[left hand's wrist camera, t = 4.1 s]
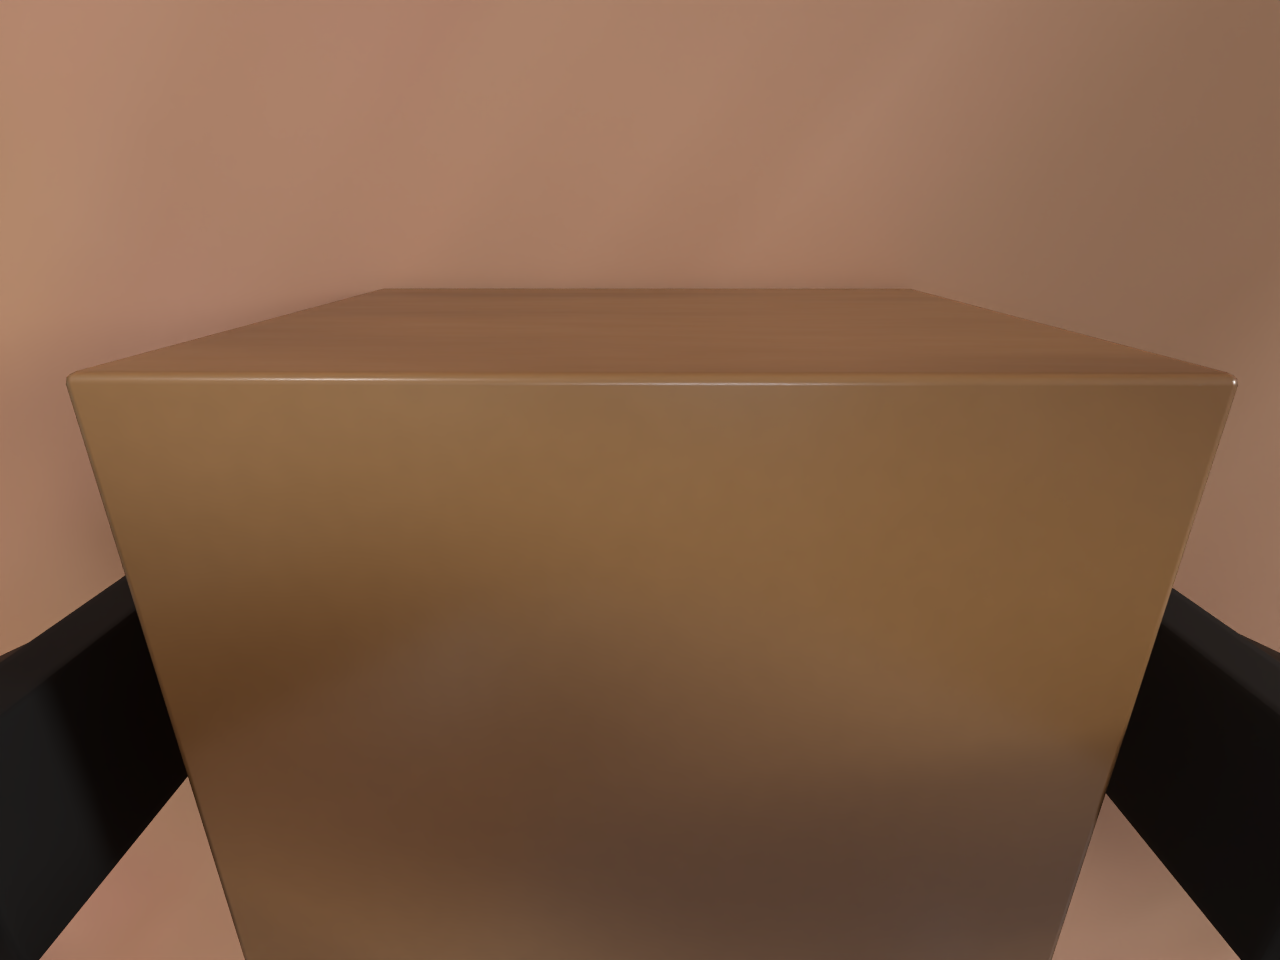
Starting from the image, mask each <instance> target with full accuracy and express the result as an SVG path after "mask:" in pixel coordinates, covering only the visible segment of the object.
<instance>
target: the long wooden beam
mask: <svg viewBox="0 0 1280 960" xmlns="http://www.w3.org/2000/svg"><path fill="white" fill-rule="evenodd" d="M66 386H67V389H68V392H69V395H70V398H71V402H72V405H73V408H74V411H75V415H76V418H77V421H78V424H79V427H80V431H81V434H82V437H83V440H84V443H85V447H86V450H87V453H88V456H89V460H90V463H91V466H92V469H93V472H94V476H95V479H96V482H97V485H98V488H99V492H100V495H101V498H102V501H103V505H104V508H105V511H106V514H107V517H108V521H109V524H110V527H111V530H112V533H113V537H114V540H115V543H116V546H117V550H118V553H119V556H120V559H121V562H122V566H123V569H124V572H125V575H126V578H127V582H128V585H129V588H130V591H131V595H132V598H133V601H134V604H135V607H136V611H137V614H138V617H139V620H140V623H141V627H142V630H143V633H144V636H145V640H146V643H147V646H148V649H149V652H150V656H151V659H152V662H153V665H154V668H155V672H156V675H157V678H158V681H159V685H160V688H161V691H162V694H163V697H164V701H165V704H166V707H167V710H168V713H169V717H170V720H171V723H172V726H173V730H174V733H175V736H176V739H177V742H178V746H179V749H180V752H181V755H182V759H183V762H184V765H185V768H186V771H187V775H188V778H189V781H190V784H191V787H192V791H193V794H194V797H195V800H196V804H197V807H198V810H199V813H200V816H201V820H202V823H203V826H204V829H205V832H206V836H207V839H208V842H209V845H210V849H211V852H212V855H213V858H214V861H215V865H216V868H217V871H218V874H219V877H220V881H221V884H222V887H223V890H224V894H225V897H226V900H227V903H228V906H229V910H230V913H231V916H232V919H233V922H234V926H235V929H236V932H237V935H238V939H239V942H240V945H241V948H242V951H243V955H244V958H245V960H1052V957H1053V954H1054V951H1055V948H1056V945H1057V942H1058V938H1059V935H1060V932H1061V929H1062V926H1063V923H1064V920H1065V917H1066V914H1067V911H1068V908H1069V905H1070V901H1071V898H1072V895H1073V892H1074V889H1075V886H1076V883H1077V880H1078V877H1079V874H1080V871H1081V868H1082V864H1083V861H1084V858H1085V855H1086V852H1087V849H1088V846H1089V843H1090V840H1091V837H1092V834H1093V830H1094V827H1095V824H1096V821H1097V818H1098V815H1099V812H1100V809H1101V806H1102V803H1103V800H1104V797H1105V793H1106V790H1107V787H1108V784H1109V781H1110V778H1111V775H1112V772H1113V769H1114V766H1115V763H1116V760H1117V756H1118V753H1119V750H1120V747H1121V744H1122V741H1123V738H1124V735H1125V732H1126V729H1127V726H1128V723H1129V719H1130V716H1131V713H1132V710H1133V707H1134V704H1135V701H1136V698H1137V695H1138V692H1139V689H1140V685H1141V682H1142V679H1143V676H1144V673H1145V670H1146V667H1147V664H1148V661H1149V658H1150V655H1151V652H1152V648H1153V645H1154V642H1155V639H1156V636H1157V633H1158V630H1159V627H1160V624H1161V621H1162V618H1163V615H1164V611H1165V608H1166V605H1167V602H1168V599H1169V596H1170V593H1171V590H1172V587H1173V584H1174V581H1175V577H1176V574H1177V571H1178V568H1179V565H1180V562H1181V559H1182V556H1183V553H1184V550H1185V547H1186V544H1187V540H1188V537H1189V534H1190V531H1191V528H1192V525H1193V522H1194V519H1195V516H1196V513H1197V510H1198V507H1199V503H1200V500H1201V497H1202V494H1203V491H1204V488H1205V485H1206V482H1207V479H1208V476H1209V473H1210V470H1211V466H1212V463H1213V460H1214V457H1215V454H1216V451H1217V448H1218V445H1219V442H1220V439H1221V436H1222V432H1223V429H1224V426H1225V423H1226V420H1227V417H1228V414H1229V411H1230V408H1231V405H1232V402H1233V399H1234V395H1235V392H1236V389H1237V386H1238V384H1237V378H1236V377H1234V376H1233V375H1231V374H1229V373H1227V372H1223V371H1219V370H1215V369H1212V368H1208V367H1204V366H1200V365H1196V364H1193V363H1189V362H1185V361H1181V360H1177V359H1174V358H1170V357H1166V356H1162V355H1158V354H1155V353H1151V352H1147V351H1143V350H1140V349H1136V348H1132V347H1128V346H1124V345H1121V344H1117V343H1113V342H1109V341H1105V340H1102V339H1098V338H1094V337H1090V336H1086V335H1083V334H1079V333H1075V332H1071V331H1067V330H1064V329H1060V328H1056V327H1052V326H1049V325H1045V324H1041V323H1037V322H1033V321H1030V320H1026V319H1022V318H1018V317H1014V316H1011V315H1007V314H1003V313H999V312H995V311H992V310H988V309H984V308H980V307H977V306H973V305H969V304H965V303H961V302H958V301H954V300H950V299H946V298H942V297H939V296H935V295H931V294H927V293H923V292H920V291H916V290H912V289H381V290H377V291H373V292H370V293H366V294H362V295H359V296H355V297H351V298H347V299H344V300H340V301H336V302H333V303H329V304H325V305H321V306H318V307H314V308H310V309H306V310H303V311H299V312H295V313H292V314H288V315H284V316H280V317H277V318H273V319H269V320H265V321H262V322H258V323H254V324H251V325H247V326H243V327H239V328H236V329H232V330H228V331H224V332H221V333H217V334H213V335H210V336H206V337H202V338H198V339H195V340H191V341H187V342H184V343H180V344H176V345H172V346H169V347H165V348H161V349H157V350H154V351H150V352H146V353H143V354H139V355H135V356H131V357H128V358H124V359H120V360H116V361H113V362H109V363H105V364H102V365H98V366H94V367H90V368H87V369H83V370H79V371H76V372H74V373H72V374H70V375H69V376H68V377H67V379H66Z"/></svg>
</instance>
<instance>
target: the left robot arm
mask: <svg viewBox="0 0 1280 960" xmlns="http://www.w3.org/2000/svg"><path fill="white" fill-rule="evenodd" d="M187 777H188V775H187V771H186V768H185V765H184V762H183V759H182V755H181V752H180V749H179V746H178V742H177V739H176V736H175V733H174V730H173V726H172V723H171V720H170V717H169V713H168V710H167V707H166V704H165V701H164V697H163V694H162V691H161V688H160V685H159V681H158V678H157V675H156V672H155V668H154V665H153V662H152V659H151V656H150V652H149V649H148V646H147V643H146V640H145V636H144V633H143V630H142V627H141V623H140V620H139V617H138V614H137V611H136V607H135V604H134V601H133V598H132V595H131V591H130V588H129V585H128V582H127V578H126V575H125V576H124V577H122V578H121V579H120V580H118V581H117V582H115V583H114V584H112V585H111V586H110V587H108V588H107V589H105V590H104V591H102V592H101V593H99V594H98V595H97V596H95V597H94V598H92V599H91V600H89V601H88V602H87V603H85V604H84V605H82V606H81V607H79V608H78V609H76V610H75V611H74V612H72V613H71V614H69V615H68V616H66V617H65V618H64V619H62V620H61V621H59V622H58V623H56V624H55V625H53V626H52V627H51V628H49V629H48V630H46V631H45V632H43V633H42V634H40V635H39V636H38V637H36V638H35V639H33V640H32V641H30V642H29V643H27V644H25V645H23V646H21V647H18V648H16V649H14V650H12V651H10V652H8V653H6V654H4V655H1V656H0V960H39V959H40V958H41V957H42V956H43V954H44V953H45V952H46V951H47V949H48V948H49V947H50V946H51V944H52V943H53V942H54V941H55V940H56V938H57V937H58V936H59V935H60V933H61V932H62V931H63V930H64V928H65V927H66V926H67V925H68V923H69V922H70V921H71V920H72V919H73V917H74V916H75V915H76V914H77V912H78V911H79V910H80V909H81V907H82V906H83V905H84V904H85V902H86V901H87V900H88V899H89V898H90V896H91V895H92V894H93V893H94V891H95V890H96V889H97V888H98V886H99V885H100V884H101V883H102V881H103V880H104V879H105V878H106V877H107V875H108V874H109V873H110V872H111V870H112V869H113V868H114V867H115V865H116V864H117V863H118V862H119V860H120V859H121V858H122V857H123V856H124V854H125V853H126V852H127V851H128V849H129V848H130V847H131V846H132V844H133V843H134V842H135V841H136V839H137V838H138V837H139V836H140V835H141V833H142V832H143V831H144V830H145V828H146V827H147V826H148V825H149V823H150V822H151V821H152V820H153V818H154V817H155V816H156V815H157V814H158V812H159V811H160V810H161V809H162V807H163V806H164V805H165V804H166V802H167V801H168V800H169V799H170V798H171V796H172V795H173V794H174V793H175V791H176V790H177V789H178V788H179V786H180V785H181V784H182V783H183V781H184V780H185V779H186V778H187ZM1106 794H1107V795H1108V796H1109V797H1110V799H1111V800H1112V801H1113V802H1114V804H1115V805H1116V806H1117V807H1118V809H1119V810H1120V811H1121V812H1122V814H1123V815H1124V816H1125V817H1126V818H1127V820H1128V821H1129V822H1130V823H1131V825H1132V826H1133V827H1134V828H1135V830H1136V831H1137V832H1138V833H1139V835H1140V836H1141V837H1142V838H1143V839H1144V841H1145V842H1146V843H1147V844H1148V846H1149V847H1150V848H1151V849H1152V851H1153V852H1154V853H1155V854H1156V856H1157V857H1158V858H1159V859H1160V860H1161V862H1162V863H1163V864H1164V865H1165V867H1166V868H1167V869H1168V870H1169V872H1170V873H1171V874H1172V875H1173V876H1174V878H1175V879H1176V880H1177V881H1178V883H1179V884H1180V885H1181V886H1182V888H1183V889H1184V890H1185V891H1186V893H1187V894H1188V895H1189V896H1190V897H1191V899H1192V900H1193V901H1194V902H1195V904H1196V905H1197V906H1198V907H1199V909H1200V910H1201V911H1202V912H1203V914H1204V915H1205V916H1206V917H1207V918H1208V920H1209V921H1210V922H1211V923H1212V925H1213V926H1214V927H1215V928H1216V930H1217V931H1218V932H1219V933H1220V935H1221V936H1222V937H1223V938H1224V939H1225V941H1226V942H1227V943H1228V944H1229V946H1230V947H1231V948H1232V949H1233V951H1234V952H1235V953H1236V954H1237V956H1238V957H1239V958H1240V959H1241V960H1280V653H1279V652H1277V651H1275V650H1272V649H1270V648H1268V647H1266V646H1264V645H1262V644H1260V643H1257V642H1255V641H1253V640H1251V639H1249V638H1247V637H1245V636H1242V635H1240V634H1238V633H1237V632H1235V631H1234V630H1232V629H1231V628H1229V627H1228V626H1227V625H1225V624H1224V623H1222V622H1221V621H1219V620H1218V619H1217V618H1215V617H1214V616H1212V615H1211V614H1209V613H1208V612H1206V611H1205V610H1204V609H1202V608H1201V607H1199V606H1198V605H1196V604H1195V603H1194V602H1192V601H1191V600H1189V599H1188V598H1186V597H1185V596H1183V595H1182V594H1181V593H1179V592H1178V591H1176V590H1175V589H1173V588H1172V590H1171V593H1170V596H1169V599H1168V602H1167V605H1166V608H1165V611H1164V615H1163V618H1162V621H1161V624H1160V627H1159V630H1158V633H1157V636H1156V639H1155V642H1154V645H1153V648H1152V652H1151V655H1150V658H1149V661H1148V664H1147V667H1146V670H1145V673H1144V676H1143V679H1142V682H1141V685H1140V689H1139V692H1138V695H1137V698H1136V701H1135V704H1134V707H1133V710H1132V713H1131V716H1130V719H1129V723H1128V726H1127V729H1126V732H1125V735H1124V738H1123V741H1122V744H1121V747H1120V750H1119V753H1118V756H1117V760H1116V763H1115V766H1114V769H1113V772H1112V775H1111V778H1110V781H1109V784H1108V787H1107V790H1106Z"/></svg>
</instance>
